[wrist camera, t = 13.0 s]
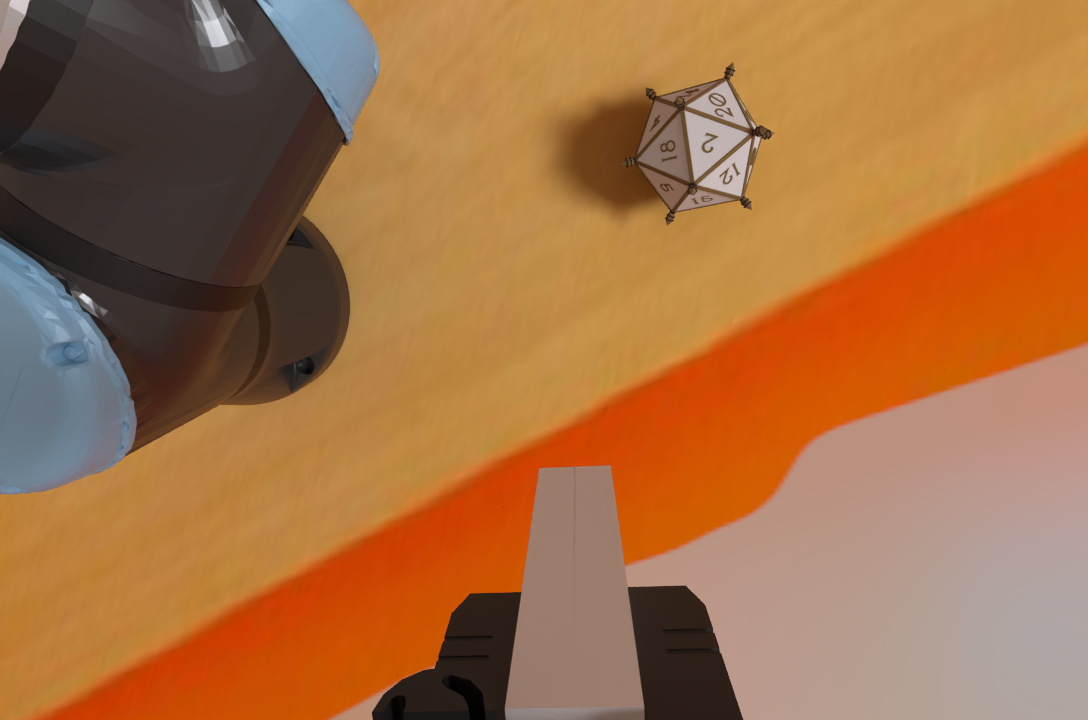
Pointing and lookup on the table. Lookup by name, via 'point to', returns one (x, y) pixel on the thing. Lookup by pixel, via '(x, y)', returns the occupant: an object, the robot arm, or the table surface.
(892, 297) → the table surface
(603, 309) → the table surface
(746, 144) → the game die
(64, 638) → the table surface
